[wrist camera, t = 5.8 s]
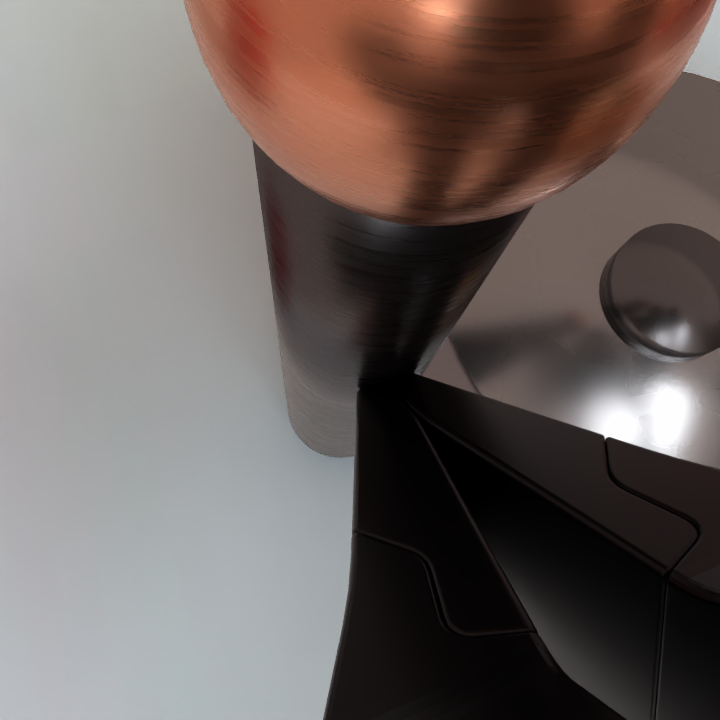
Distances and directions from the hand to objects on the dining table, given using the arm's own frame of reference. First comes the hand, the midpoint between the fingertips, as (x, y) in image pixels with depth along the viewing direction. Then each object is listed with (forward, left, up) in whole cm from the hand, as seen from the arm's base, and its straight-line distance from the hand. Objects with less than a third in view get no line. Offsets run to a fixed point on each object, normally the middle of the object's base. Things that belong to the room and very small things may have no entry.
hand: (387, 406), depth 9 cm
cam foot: (+7, -5, -7) cm, 11 cm away
